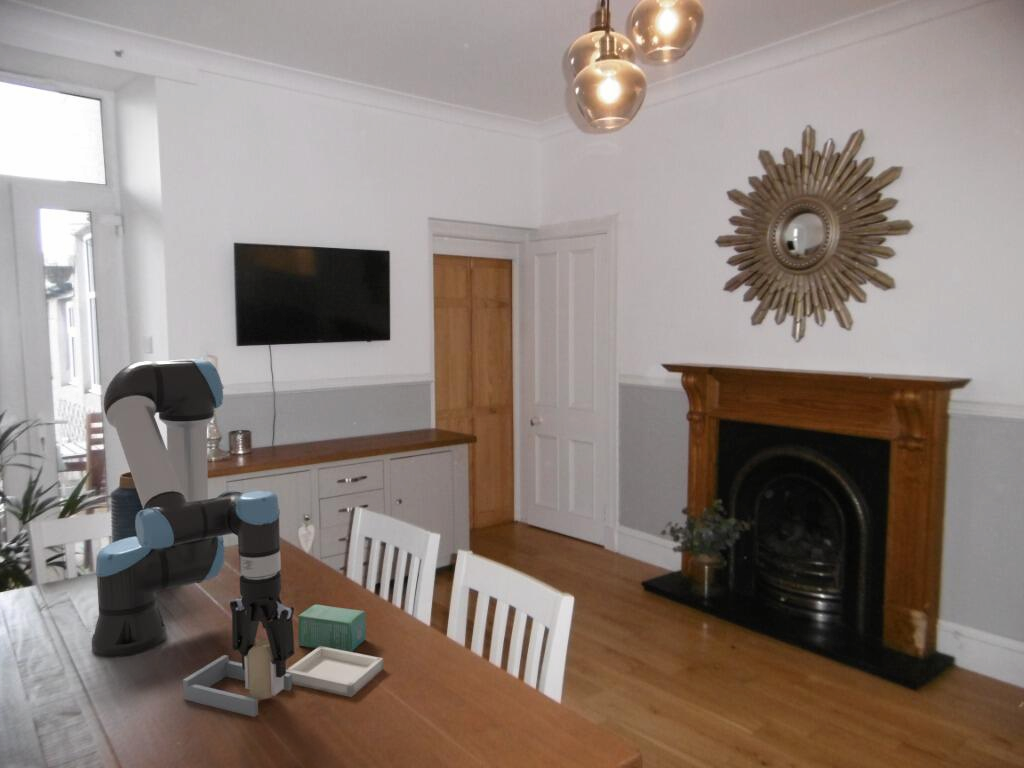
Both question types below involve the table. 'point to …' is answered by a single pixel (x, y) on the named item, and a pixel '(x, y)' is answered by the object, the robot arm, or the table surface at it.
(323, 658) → the tray
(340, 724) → the table surface
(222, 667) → the bracket
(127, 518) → the vase
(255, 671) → the candle
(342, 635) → the box
